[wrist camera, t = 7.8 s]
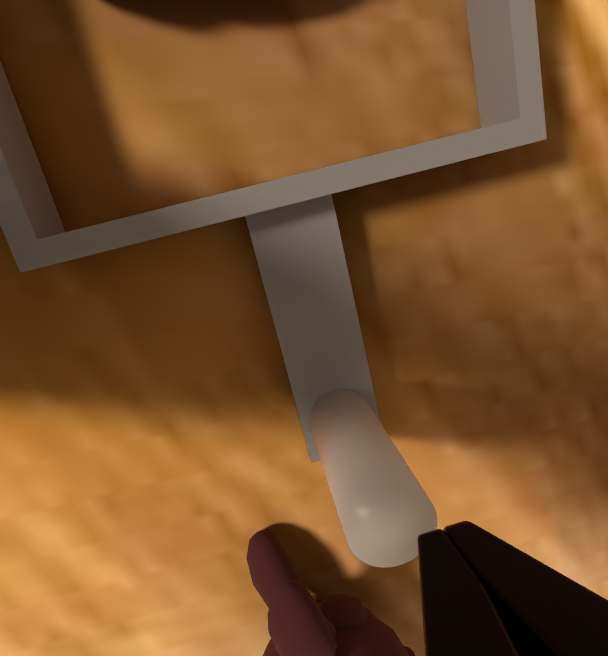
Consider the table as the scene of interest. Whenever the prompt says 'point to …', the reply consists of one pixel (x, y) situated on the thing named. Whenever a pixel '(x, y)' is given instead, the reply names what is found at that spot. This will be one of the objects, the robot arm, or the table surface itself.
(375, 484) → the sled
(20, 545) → the table surface
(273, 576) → the icecream
